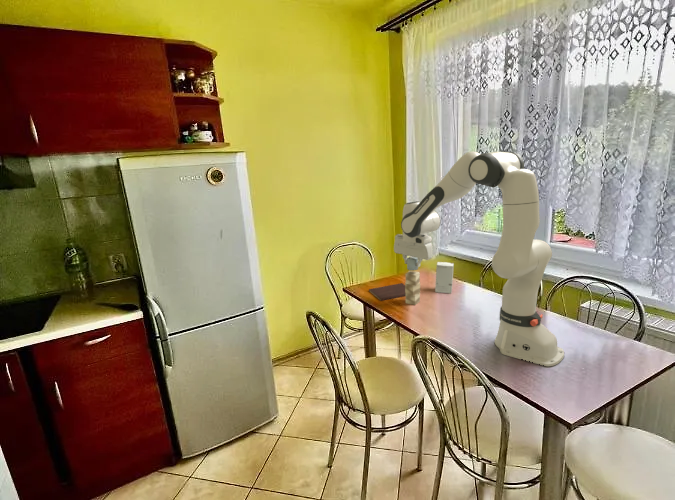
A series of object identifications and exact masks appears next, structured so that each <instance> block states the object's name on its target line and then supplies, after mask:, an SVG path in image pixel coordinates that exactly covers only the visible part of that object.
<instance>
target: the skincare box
mask: <svg viewBox="0 0 675 500" xmlns="http://www.w3.org/2000/svg"><path fill="white" fill-rule="evenodd" d="M454 265H455V264H454V262H446V261H443V262H442V261H437V262H436V273H435V287H434V291H435V292H434V293H440V294H441V293H442V294H452V292H453V278H454Z"/></svg>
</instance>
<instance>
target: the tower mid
mask: <svg viewBox="0 0 675 500" xmlns="http://www.w3.org/2000/svg"><path fill="white" fill-rule="evenodd" d="M404 285H405V293H407V294H410V295H416V294H418V293H420V294H421V282H419V283H418V284H417V285H416V286H415V285H409V284H406V282H404Z"/></svg>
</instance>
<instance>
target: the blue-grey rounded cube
mask: <svg viewBox="0 0 675 500" xmlns="http://www.w3.org/2000/svg"><path fill="white" fill-rule="evenodd" d="M417 262H418V260H417V258H416V257H412V256H408V257H407V264H406V266H407V268H406V269H407V270H408V271H417V270H419V267H417V266H416V263H417Z"/></svg>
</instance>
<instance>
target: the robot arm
mask: <svg viewBox="0 0 675 500" xmlns="http://www.w3.org/2000/svg"><path fill="white" fill-rule="evenodd" d="M522 157H523V156H521V155H520V154H519V153H517V152H513V151H492V152H491V151H490V152H483V153H479V152H477V151H474V150H473V151H471V150H470V151H467V152H466V153H464V154H463V155H462V156H460V157H459V159H458V160H456V162H455V163H454V164H453V165H452V167H451V168H450V169H449V170H448V172H447V173H446V174H445V175H444V176H443V178H442V179H441V180H440V181H439V182H438V183H437V184H436V185H435V186H434V187H433V188H432V189H431V190H430V191H429V192H428V193H427V194H426V195H425V196H424V197H423V199H421V200H420V201H411V202H406V203H405V204H404V206H403V209H402V219H401V223H400V225H401V226H400V227H401V230H402V234H401V233H397V234H396V235H395V236H394V244H393V252H394V253H395V254H400V255H402V258H403V260H404V264H406V265H407V258H408V257H416V258H417V260H418V262H417V263H416V266H417V267H418V268H419V267H421V263H422V261H423V260H430V259H432V258H433V255H434V252H433V251H434V249H433V244H432V241H433V238H432V236H431V235H428V234H429V233H433V232H435V231H437V230H439V228H440V227H441V222H442V221H441V216H440V214H439V213H438V212H437V211H436V209H437V208H439V207H441V206H442V205H445V204H448V203H451V202H455V201H457V200H459V199H462V198H463V197H464V196H466V195H467V194H468V193H469V192H470V191H471V190H472V189H473V188H474V186H475V185H476V184H477V185H482V186H485V187H489V188H496V187H498V188H499V189H500V190H501V194H502V232H501V237H500V239H499V240H500V241H499V243H498V248H497V250H496V252H495V253H494V255H493V256H492V259H491V268H492V270H493V272H494V273H495V274H496V275H497V276H498V277H500V278H502V279H507V281H506V282H505V283H504V285H503V287H502V294H501V295H502V296H501V297H502V299H501V306H500V309H499V327H498V330H497V333H496V334H497V335H496V337H495V339H494V344H495V346H496V347H497V348H498V349H499V351H500V354H501V355H504V356H507V357H509V358H510V357H511V358H514V359H518V360H521V359H523V360H522V361H525V360H526V361H525V362H529V361H530V362H529V363H532V362H533V364H535V365H539V364H540V366H543V365H544V367H554V366H556V365H558V364H560V363H561V362H562V360H563V359H564V357H565V351H564V349H563V348H562V347H560V346H558V340H557V336H556V335H555V334H554V333H553V332H552V331H550V330H549V328H547V327H546V326H545V325H544V324H543V323H542V318H543V314H542V313H541V314H540V315H539V313H538V312H537V301H538V295H539V294H538V292H539V290H540V289H539V288H540V286H541V282H542V279H543V276H544V273H545V270H546V268H547V266H548V264H549V262H550V261H551V259H552V256H553V251H552V248H551V246H550V245H549V244H548V243H547V242H546V241H544V240H542V239H534V238H535V234H536V232H537V230H538V229H539V226H540V222H541V221H540V196H539V195H540V193H539V187H538V181H537V176H536V174H535V173H534V171H532V170H530V169H526V168H525V162H524V159H523V158H522Z"/></svg>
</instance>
